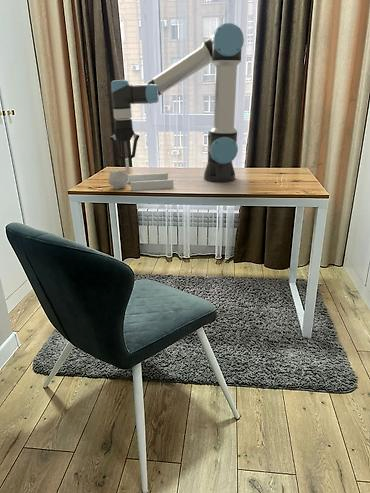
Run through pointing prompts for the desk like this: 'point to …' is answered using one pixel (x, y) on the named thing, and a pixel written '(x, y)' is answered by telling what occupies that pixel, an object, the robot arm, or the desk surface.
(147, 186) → the grey u-shaped frame
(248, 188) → the desk surface
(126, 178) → the die
